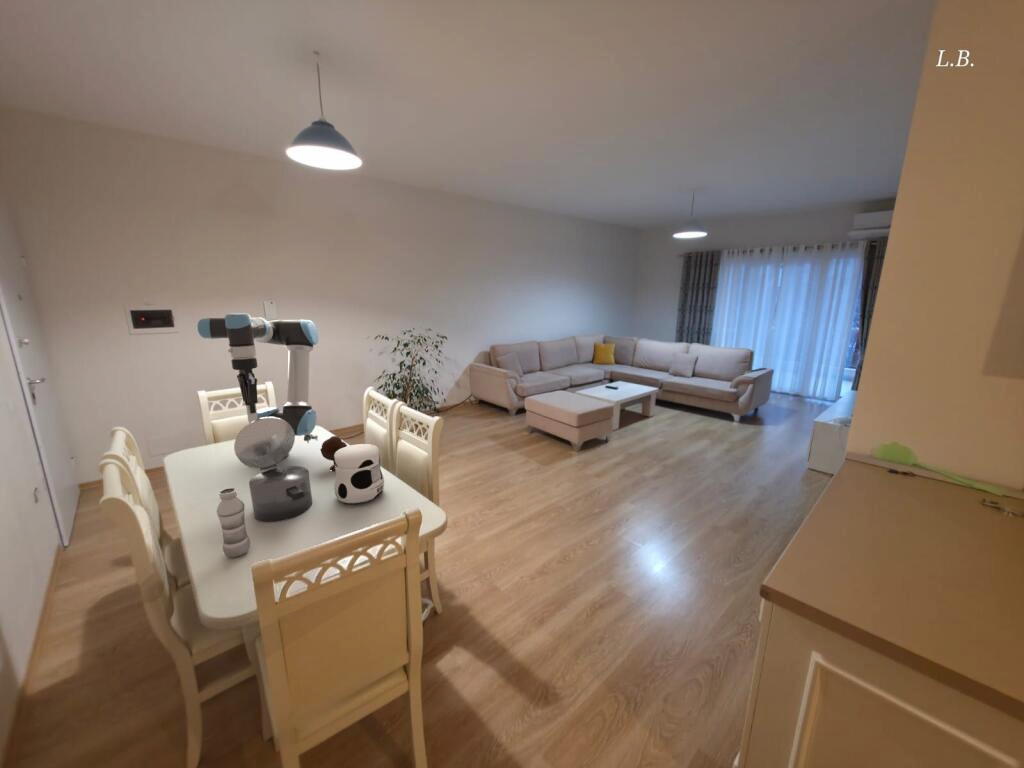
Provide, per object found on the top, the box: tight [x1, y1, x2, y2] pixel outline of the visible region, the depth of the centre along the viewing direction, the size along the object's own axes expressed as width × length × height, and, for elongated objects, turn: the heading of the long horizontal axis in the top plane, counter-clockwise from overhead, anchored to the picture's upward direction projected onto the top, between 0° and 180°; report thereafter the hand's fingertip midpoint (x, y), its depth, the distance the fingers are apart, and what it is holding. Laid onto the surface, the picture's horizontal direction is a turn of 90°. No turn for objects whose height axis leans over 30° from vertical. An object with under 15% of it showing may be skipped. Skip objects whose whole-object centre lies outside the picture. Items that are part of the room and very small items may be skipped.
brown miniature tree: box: [319, 435, 348, 472], centre depth 173 cm, size 11×11×15 cm
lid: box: [233, 417, 296, 472], centre depth 144 cm, size 20×19×4 cm
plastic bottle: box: [216, 487, 251, 559], centre depth 115 cm, size 6×7×20 cm
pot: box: [248, 465, 313, 523], centre depth 139 cm, size 24×18×12 cm
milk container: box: [333, 443, 385, 505], centre depth 149 cm, size 17×17×18 cm
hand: (253, 421), depth 148 cm, fingers closed
